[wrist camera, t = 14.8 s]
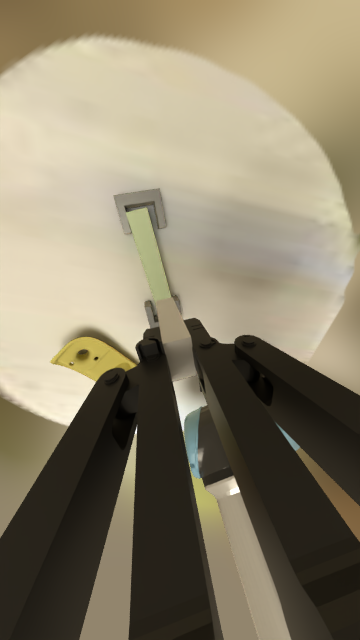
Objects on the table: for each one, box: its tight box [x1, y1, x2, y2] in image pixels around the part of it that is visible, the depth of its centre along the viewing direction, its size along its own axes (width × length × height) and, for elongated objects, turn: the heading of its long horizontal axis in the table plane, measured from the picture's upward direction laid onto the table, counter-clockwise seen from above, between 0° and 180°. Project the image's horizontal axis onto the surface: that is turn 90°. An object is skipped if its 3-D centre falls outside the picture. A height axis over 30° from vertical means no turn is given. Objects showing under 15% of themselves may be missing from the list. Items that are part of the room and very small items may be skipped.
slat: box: [126, 207, 171, 304], centre depth 34 cm, size 20×4×5 cm, turn 13°
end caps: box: [113, 188, 181, 328], centre depth 34 cm, size 25×7×4 cm, turn 9°
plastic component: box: [50, 337, 137, 382], centre depth 42 cm, size 20×7×10 cm
